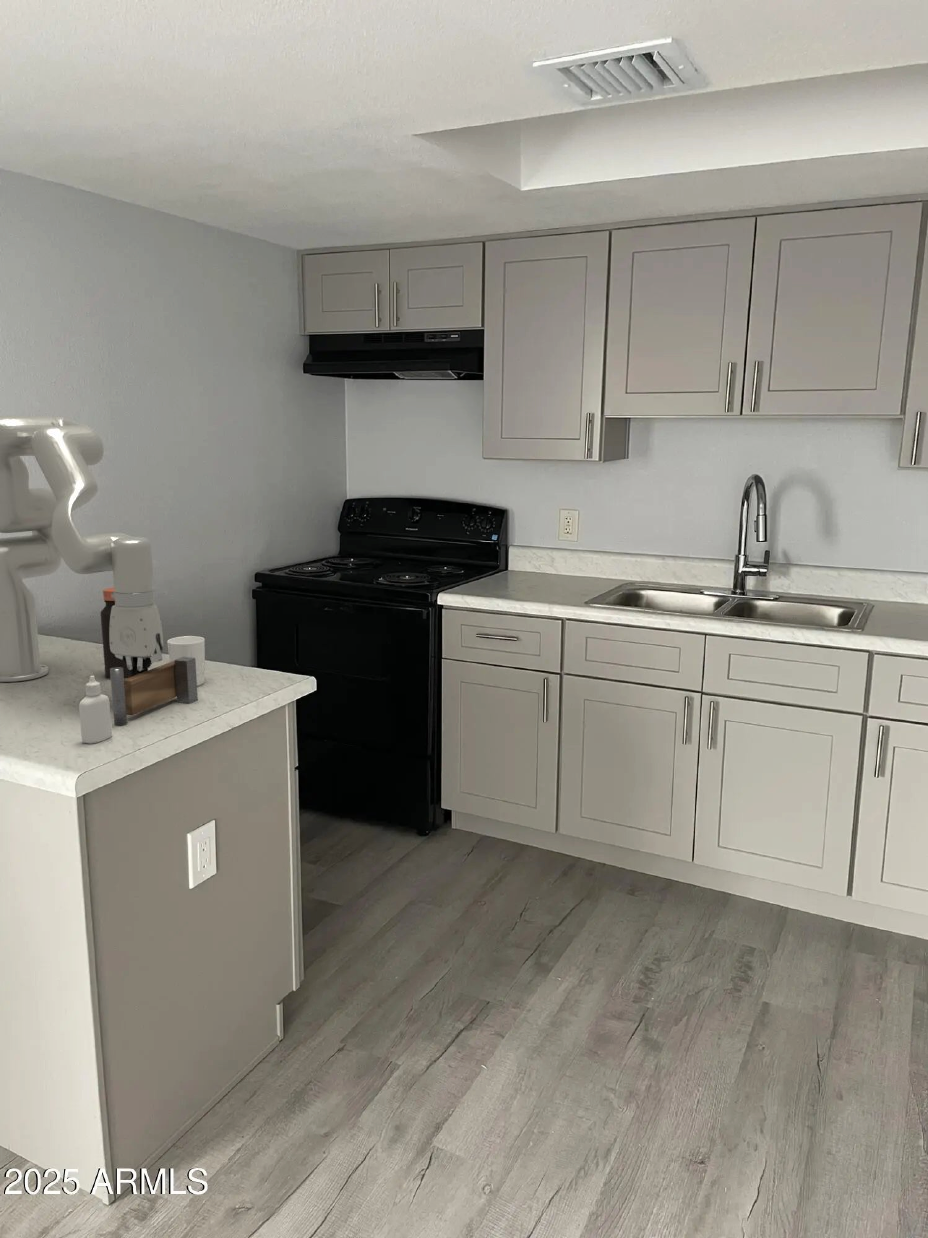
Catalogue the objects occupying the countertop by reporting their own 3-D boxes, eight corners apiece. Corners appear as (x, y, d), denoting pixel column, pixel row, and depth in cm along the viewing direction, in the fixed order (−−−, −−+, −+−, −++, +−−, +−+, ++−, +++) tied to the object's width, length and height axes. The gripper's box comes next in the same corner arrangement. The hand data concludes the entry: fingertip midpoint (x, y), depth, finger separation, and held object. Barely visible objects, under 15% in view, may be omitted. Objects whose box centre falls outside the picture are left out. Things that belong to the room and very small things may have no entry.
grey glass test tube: (111, 725, 185) (107, 669, 183) (119, 721, 187) (115, 666, 185) (121, 726, 184) (117, 670, 182) (130, 722, 187) (125, 667, 184)
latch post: (176, 702, 200) (174, 660, 198) (185, 698, 203) (183, 656, 201) (189, 703, 199) (186, 661, 197) (197, 699, 202) (195, 657, 200)
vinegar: (99, 678, 219) (92, 591, 215) (114, 670, 225) (108, 586, 221) (127, 679, 218) (121, 592, 213) (142, 672, 224) (135, 587, 220)
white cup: (196, 689, 210) (194, 644, 208) (163, 687, 211) (160, 643, 209) (213, 680, 217) (210, 636, 215) (180, 678, 219) (178, 635, 217)
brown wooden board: (124, 714, 188) (122, 680, 187) (174, 693, 203) (172, 661, 202) (133, 715, 188) (130, 681, 186) (183, 694, 202) (180, 661, 201)
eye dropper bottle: (78, 739, 177) (73, 676, 175) (109, 733, 180) (104, 671, 178) (84, 745, 174) (78, 681, 171) (116, 739, 177) (111, 676, 174)
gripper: (91, 599, 191) (97, 688, 195) (154, 605, 187) (159, 696, 190) (116, 593, 198) (122, 679, 202) (177, 598, 193) (182, 686, 197)
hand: (140, 687), depth 196 cm, fingers closed
